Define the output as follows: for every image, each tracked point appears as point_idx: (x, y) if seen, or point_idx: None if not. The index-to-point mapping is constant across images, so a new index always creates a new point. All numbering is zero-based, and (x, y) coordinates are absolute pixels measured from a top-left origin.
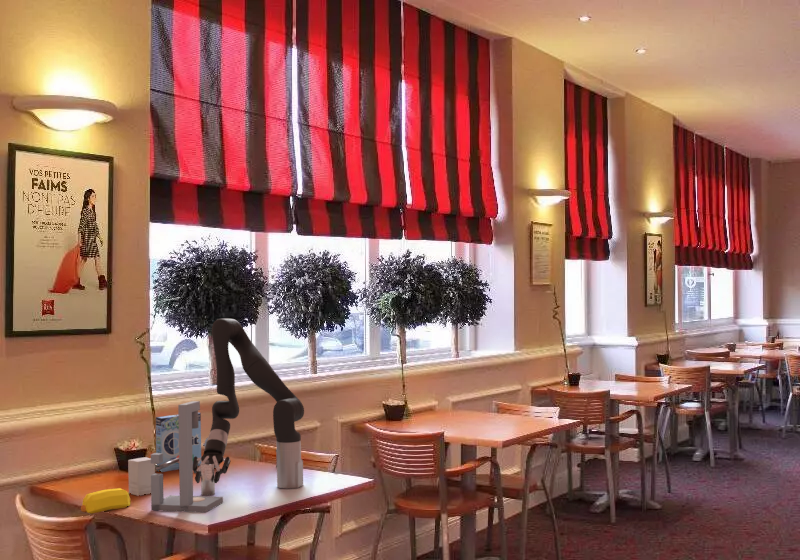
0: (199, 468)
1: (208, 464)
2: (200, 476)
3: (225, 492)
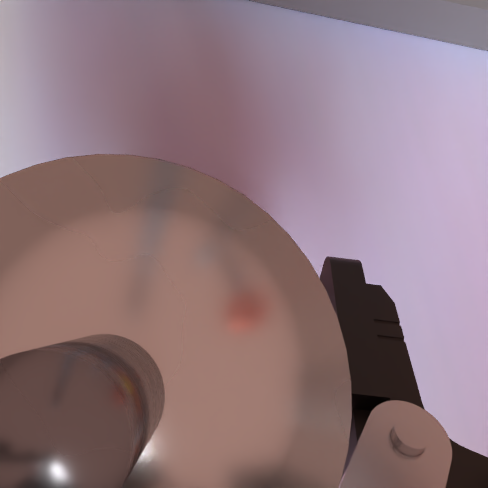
0: (392, 481)
1: (55, 332)
2: None
3: None
